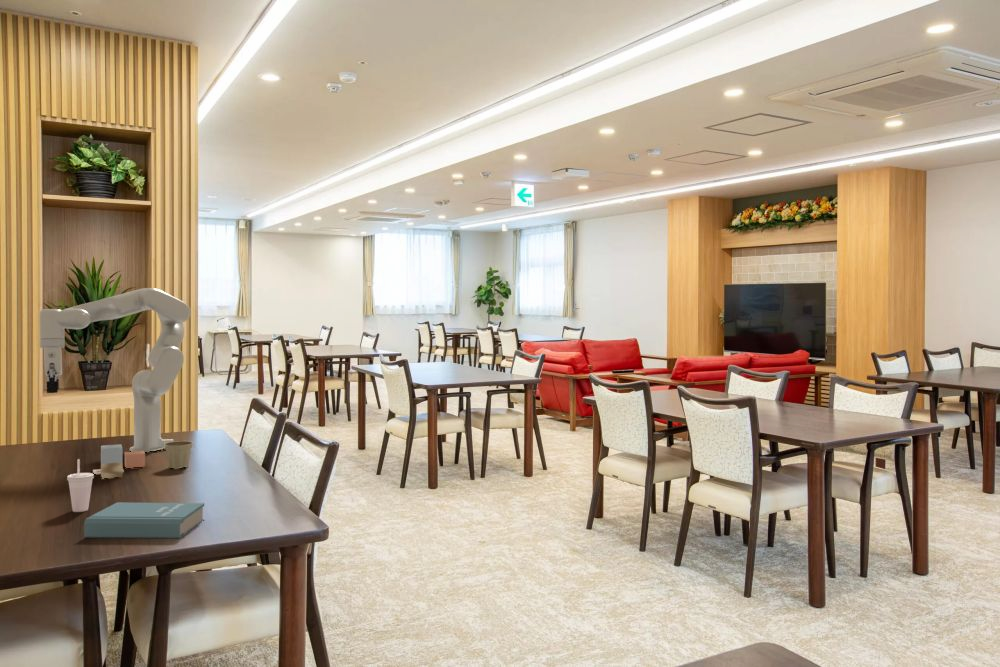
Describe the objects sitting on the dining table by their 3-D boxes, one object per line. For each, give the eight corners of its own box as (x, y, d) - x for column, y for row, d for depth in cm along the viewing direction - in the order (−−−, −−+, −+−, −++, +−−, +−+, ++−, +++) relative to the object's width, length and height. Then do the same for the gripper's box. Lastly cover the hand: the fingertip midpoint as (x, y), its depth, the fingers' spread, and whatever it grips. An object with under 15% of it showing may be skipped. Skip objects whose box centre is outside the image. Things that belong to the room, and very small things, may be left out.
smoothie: (76, 506, 204) (76, 456, 204) (98, 507, 204) (98, 457, 203) (61, 513, 198) (61, 461, 197) (84, 513, 197) (85, 461, 197)
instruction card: (122, 468, 254) (122, 466, 254) (123, 472, 249) (124, 470, 248) (92, 470, 250) (92, 469, 250) (93, 474, 244) (93, 473, 244)
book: (204, 522, 193) (204, 503, 193) (179, 540, 177) (179, 520, 177) (116, 521, 192) (117, 502, 192) (84, 540, 176) (84, 519, 176)
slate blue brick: (121, 459, 246) (121, 444, 246) (122, 462, 241) (122, 447, 241) (100, 460, 243) (100, 445, 243) (101, 463, 238) (101, 448, 238)
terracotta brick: (143, 464, 262) (143, 450, 262) (145, 467, 257) (145, 453, 257) (124, 466, 259) (124, 452, 259) (126, 469, 254) (126, 454, 254)
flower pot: (168, 471, 250) (168, 446, 250) (160, 467, 257) (160, 442, 257) (196, 468, 256) (196, 443, 256) (187, 463, 264) (187, 440, 263)
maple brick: (121, 473, 246) (121, 459, 246) (122, 477, 241) (122, 462, 241) (100, 475, 243) (100, 460, 243) (101, 479, 238) (101, 463, 238)
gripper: (63, 344, 255) (64, 393, 256) (65, 342, 270) (65, 388, 271) (38, 344, 252) (38, 394, 252) (41, 342, 267) (41, 389, 267)
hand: (52, 391), depth 262 cm, fingers open, 9 cm apart
